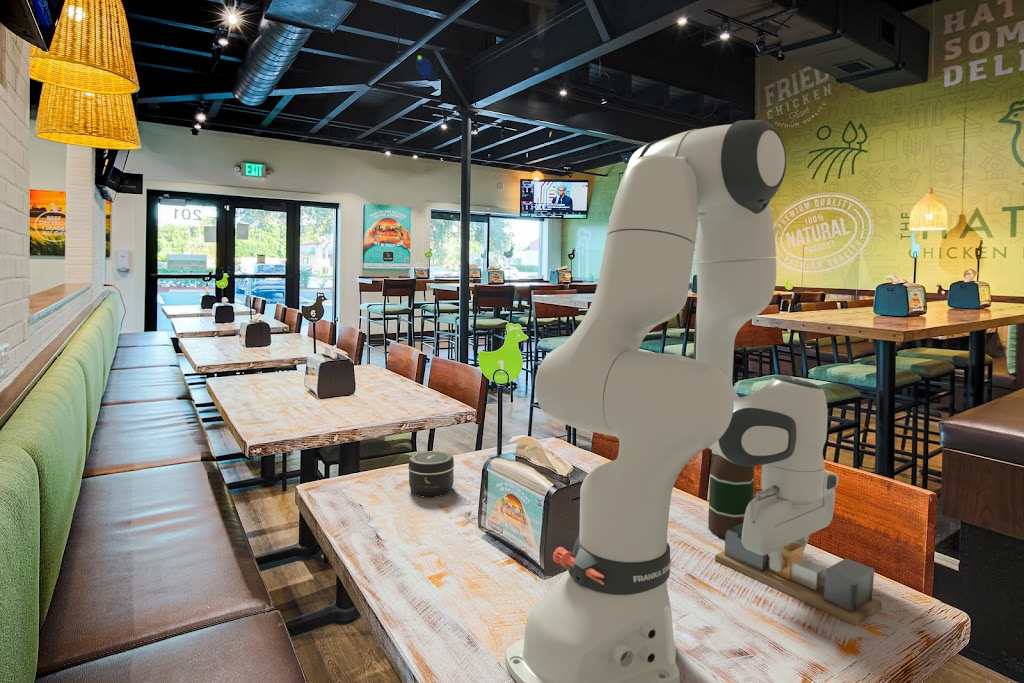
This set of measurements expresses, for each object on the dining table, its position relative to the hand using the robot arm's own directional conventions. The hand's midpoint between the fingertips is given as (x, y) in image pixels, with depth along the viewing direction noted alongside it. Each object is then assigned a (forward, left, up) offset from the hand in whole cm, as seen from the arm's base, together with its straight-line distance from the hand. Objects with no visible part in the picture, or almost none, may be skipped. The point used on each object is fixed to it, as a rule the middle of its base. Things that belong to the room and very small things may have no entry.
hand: (786, 564), depth 96 cm
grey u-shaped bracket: (0, +6, -2) cm, 6 cm away
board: (0, -1, -2) cm, 3 cm away
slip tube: (0, +1, -1) cm, 2 cm away
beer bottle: (+8, +16, -3) cm, 18 cm away
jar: (-28, +67, -3) cm, 73 cm away
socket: (0, -10, -2) cm, 10 cm away
